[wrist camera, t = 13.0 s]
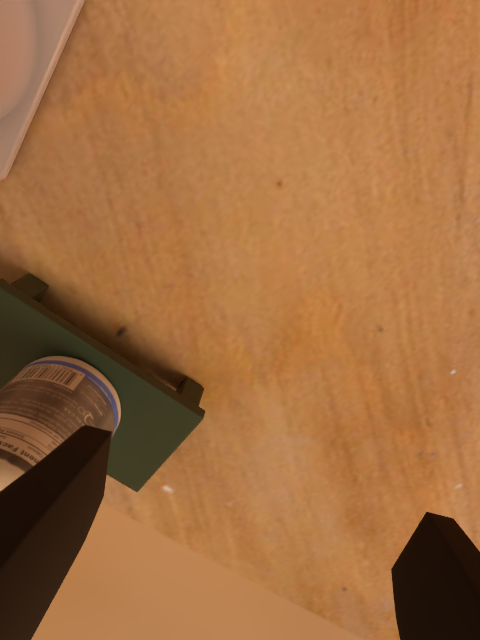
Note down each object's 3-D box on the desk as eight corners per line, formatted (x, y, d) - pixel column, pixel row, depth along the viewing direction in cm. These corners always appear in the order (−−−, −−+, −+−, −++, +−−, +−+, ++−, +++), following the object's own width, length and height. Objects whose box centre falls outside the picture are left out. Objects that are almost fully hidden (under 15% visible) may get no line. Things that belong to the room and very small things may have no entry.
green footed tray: (-21, 354, 21) (-55, 380, 19) (25, 264, 19) (-8, 282, 17) (150, 459, 23) (137, 493, 21) (212, 388, 21) (203, 419, 18)
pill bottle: (85, 458, 20) (-38, 663, 13) (-1, 397, 19) (-191, 580, 12) (146, 402, 18) (45, 601, 11) (55, 330, 17) (-127, 495, 10)
